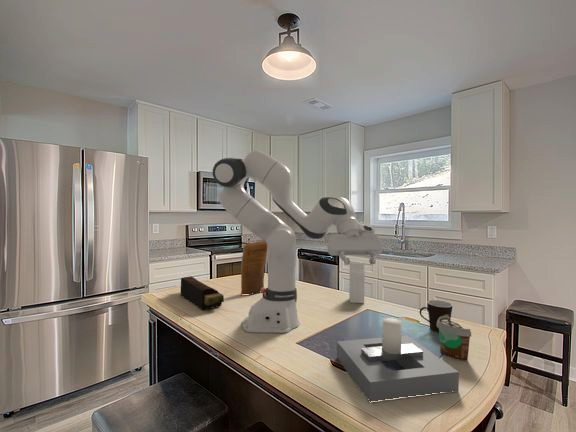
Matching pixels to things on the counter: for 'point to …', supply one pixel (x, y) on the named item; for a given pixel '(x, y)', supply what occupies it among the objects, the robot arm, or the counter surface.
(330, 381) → the counter surface
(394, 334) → the tapered cream cylinder
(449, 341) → the food container
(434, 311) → the coffee mug
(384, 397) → the gray square frame block
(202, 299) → the packaged item
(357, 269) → the milk carton
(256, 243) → the pancake mix bag
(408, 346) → the flat gray rectangular bar
